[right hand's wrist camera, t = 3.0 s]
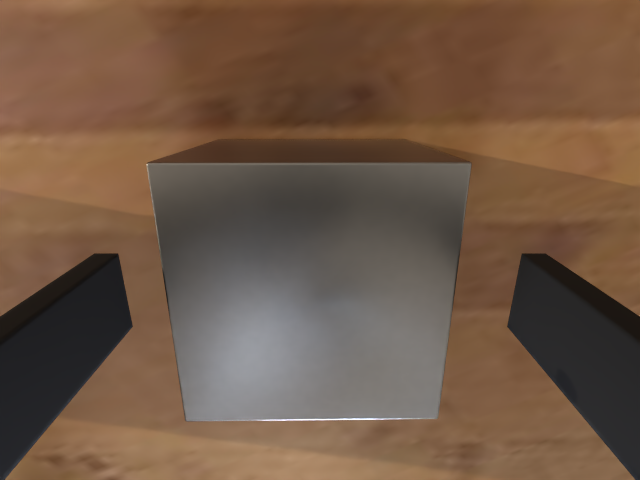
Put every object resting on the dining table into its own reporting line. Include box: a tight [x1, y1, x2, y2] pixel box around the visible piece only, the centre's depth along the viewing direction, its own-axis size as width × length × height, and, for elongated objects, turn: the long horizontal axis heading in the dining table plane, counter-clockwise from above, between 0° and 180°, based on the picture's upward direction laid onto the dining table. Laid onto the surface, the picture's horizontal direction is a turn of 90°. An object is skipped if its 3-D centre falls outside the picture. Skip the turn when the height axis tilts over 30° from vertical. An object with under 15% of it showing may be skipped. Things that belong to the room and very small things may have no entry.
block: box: [147, 139, 472, 421], centre depth 16 cm, size 9×9×8 cm
